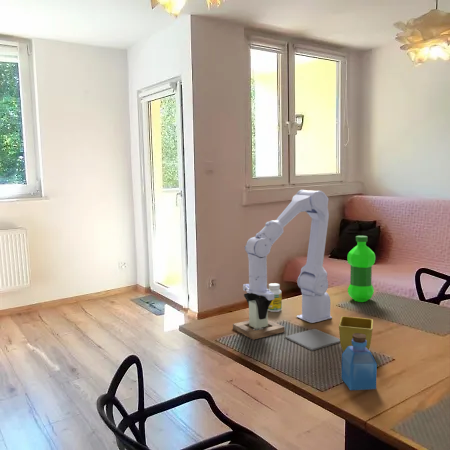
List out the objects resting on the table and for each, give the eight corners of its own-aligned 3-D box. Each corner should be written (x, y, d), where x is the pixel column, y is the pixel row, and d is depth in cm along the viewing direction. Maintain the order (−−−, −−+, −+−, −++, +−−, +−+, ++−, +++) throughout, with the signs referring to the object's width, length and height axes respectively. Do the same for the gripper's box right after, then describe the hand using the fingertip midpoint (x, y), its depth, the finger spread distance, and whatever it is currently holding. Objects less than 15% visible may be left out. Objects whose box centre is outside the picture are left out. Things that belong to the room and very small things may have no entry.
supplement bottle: (275, 306, 171) (275, 281, 170) (284, 310, 167) (284, 284, 166) (264, 309, 168) (263, 284, 167) (273, 313, 164) (273, 287, 163)
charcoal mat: (314, 330, 146) (314, 328, 146) (342, 341, 136) (342, 340, 136) (285, 337, 140) (285, 336, 140) (311, 350, 130) (311, 349, 130)
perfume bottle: (341, 378, 113) (342, 331, 111) (365, 376, 113) (366, 330, 112) (350, 390, 107) (351, 341, 105) (376, 388, 107) (377, 339, 106)
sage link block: (260, 322, 150) (260, 298, 149) (267, 326, 146) (267, 301, 145) (249, 325, 147) (248, 301, 146) (256, 328, 144) (256, 304, 143)
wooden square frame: (263, 321, 155) (263, 317, 155) (284, 331, 145) (284, 326, 145) (232, 328, 149) (232, 323, 149) (253, 339, 139) (253, 334, 139)
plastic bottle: (344, 296, 183) (345, 234, 180) (371, 296, 182) (373, 234, 179) (348, 303, 173) (349, 238, 170) (377, 304, 172) (378, 238, 169)
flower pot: (372, 349, 130) (373, 318, 129) (371, 361, 122) (372, 328, 121) (341, 345, 133) (341, 315, 132) (338, 357, 125) (338, 325, 124)
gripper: (234, 272, 149) (235, 313, 151) (260, 281, 137) (261, 325, 138) (252, 269, 153) (253, 309, 154) (279, 278, 140) (279, 321, 142)
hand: (258, 316), depth 147 cm, fingers closed on sage link block, 4 cm apart
